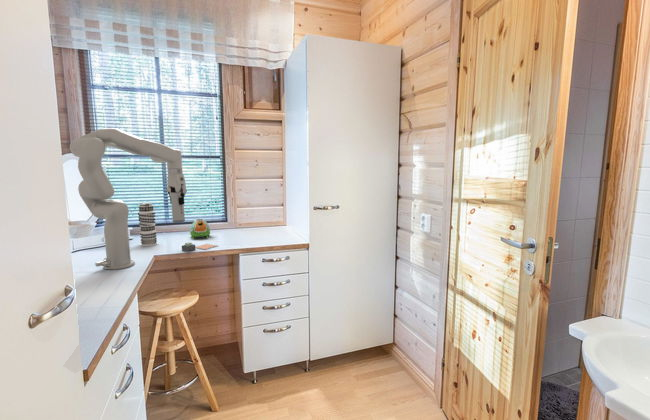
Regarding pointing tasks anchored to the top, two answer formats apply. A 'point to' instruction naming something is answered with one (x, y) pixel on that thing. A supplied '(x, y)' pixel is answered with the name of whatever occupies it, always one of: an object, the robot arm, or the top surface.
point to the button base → (188, 248)
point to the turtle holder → (199, 228)
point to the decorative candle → (147, 224)
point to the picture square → (205, 246)
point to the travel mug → (176, 207)
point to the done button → (188, 244)
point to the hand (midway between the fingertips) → (177, 203)
